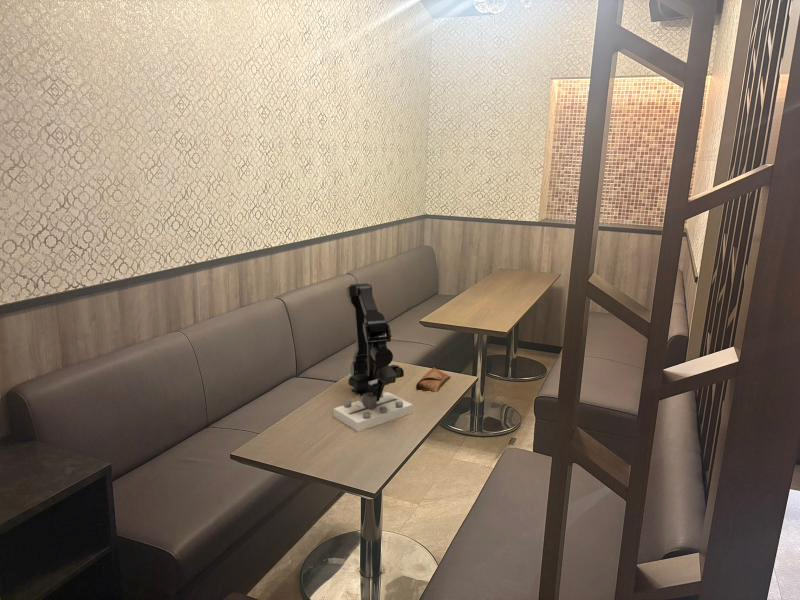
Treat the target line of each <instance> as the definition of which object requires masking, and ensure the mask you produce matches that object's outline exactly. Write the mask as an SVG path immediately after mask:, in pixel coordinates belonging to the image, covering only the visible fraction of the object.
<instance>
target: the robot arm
mask: <svg viewBox="0 0 800 600" xmlns="http://www.w3.org/2000/svg"><path fill="white" fill-rule="evenodd" d="M346 298H347V299H348V303H349V304H350V306H351V307H352V309H353V314H354V315H353V316H354V328H355V329H354V330H355V343H356V349H355V352H354V354H353V355H352V362H351V365H350V370H349V371H350V377H349V378H348V385H349V386H351V387H352V388H351V391H352V392H354V393H356V394H358V395H360V396H363V394H364V393H368V392H369V393H371V394H373V395H375V396H377V401H379V400H380V397H381V394H382V392H383V390H384V388H385V386H388V385H390V384H394V383H396V381H397V379H399V378H400V379H401V378H403V377H404V375H405V372H404V368H402V367H401V366H399V365H395V364H391V363H392V361H393V360H394V355H393V352H392V351H391V350H390V349H389V347H388V346H387V343H391V341H392V332H391V328H390V324H389V322H388V321H387V320H386V318H385V316H384V314H383V313H381V312H379V311H378V308H377V304H376V301H375V299H374V296H373V285H372V284H370V283H365V282H364V283H352V284H351V283H349V286H347V287H346ZM385 335H386V336H385ZM390 364H391V365H390Z"/></svg>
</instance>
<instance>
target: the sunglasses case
mask: <svg viewBox="0 0 800 600" xmlns="http://www.w3.org/2000/svg"><path fill="white" fill-rule="evenodd" d="M450 377H451V378H452V376H451V375H449V374H446V373H445V372H443V371H441V370H439V369H437V368H436V367H435V366H434V367H432V369H430V370H429V371H428V372H426V373H425V375H424V376H423V377H422V378H421V379H420V380H419V381H418V382H417V383H416V384H415V385H416V386H415V388H416V391H417V390H423V391H422V392H426V391H431V392H430V393H435V392H437V393H439V390H440V389H441V388H440V387H442V386H444V384H445V383H446V382H447V381H449V380H450V379H451V378H450Z"/></svg>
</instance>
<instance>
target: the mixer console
mask: <svg viewBox="0 0 800 600" xmlns="http://www.w3.org/2000/svg"><path fill="white" fill-rule="evenodd" d="M413 413H414V405H413V404H412V403H410V402H409V401H407V400H406V399H405V400H404V399H402V398H400V397H399V396H397V395H394V394H392V393H390V392H388V391H386V392H383V391H382V394H381V397H380V400H379V401H377V408H374V409H369V408H367V407H365V406H363V396H361V397H360V399H359V400H356V401H353V402H352V401H347V400H346V401H344V402H343V405H340V406H337V407H333V418H335V419H336V420H338V421H340V422H341V423H343V424H345V425H347V426H348V427H349V426H350V427H349V428H351V429H352V430H353V431H356V432H357V433H359V432H361V430H362V431H364V429H365V430H367V428H368V429H369V428H373V427H376V426H379V425H382V424H385V423H388V422H391V421H393V420H397V419H399V418H402V416H403V417H405V415H406V416H408V415H411V414H413Z"/></svg>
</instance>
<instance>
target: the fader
mask: <svg viewBox="0 0 800 600" xmlns="http://www.w3.org/2000/svg"><path fill="white" fill-rule="evenodd" d="M362 397H363V406H365V407H367V408H369V409H374V408H377V396H375V395H373V394H372V393H369V392H368V393H364V394H363V395H362Z"/></svg>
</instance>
